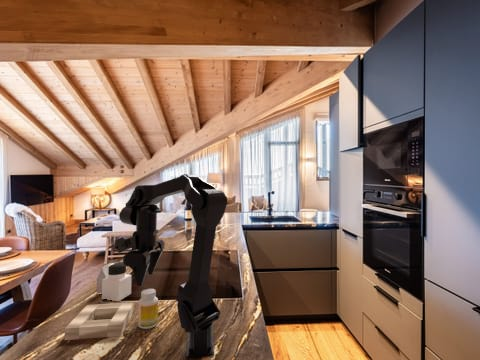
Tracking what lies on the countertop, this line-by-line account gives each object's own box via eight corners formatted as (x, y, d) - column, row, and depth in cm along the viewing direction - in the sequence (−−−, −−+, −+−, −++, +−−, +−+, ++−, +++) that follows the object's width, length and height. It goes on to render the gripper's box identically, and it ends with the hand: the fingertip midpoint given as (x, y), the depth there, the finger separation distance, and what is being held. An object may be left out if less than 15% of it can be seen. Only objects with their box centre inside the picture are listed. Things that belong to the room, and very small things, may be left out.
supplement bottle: (134, 324, 77) (135, 291, 77) (152, 318, 81) (152, 286, 81) (143, 331, 73) (144, 296, 74) (161, 324, 77) (161, 291, 78)
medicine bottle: (131, 293, 99) (131, 261, 100) (118, 301, 92) (119, 267, 93) (115, 292, 101) (115, 260, 101) (101, 299, 94) (101, 265, 94)
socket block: (121, 335, 71) (121, 324, 71) (64, 340, 69) (64, 328, 69) (134, 311, 85) (134, 302, 85) (87, 314, 83) (87, 304, 83)
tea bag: (115, 288, 105) (116, 262, 105) (106, 295, 98) (106, 267, 98) (106, 287, 105) (106, 262, 105) (96, 294, 98) (97, 267, 99)
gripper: (131, 222, 89) (130, 269, 89) (103, 232, 70) (102, 292, 70) (165, 222, 89) (164, 269, 89) (146, 233, 70) (144, 293, 70)
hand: (145, 279), depth 79 cm, fingers open, 9 cm apart
